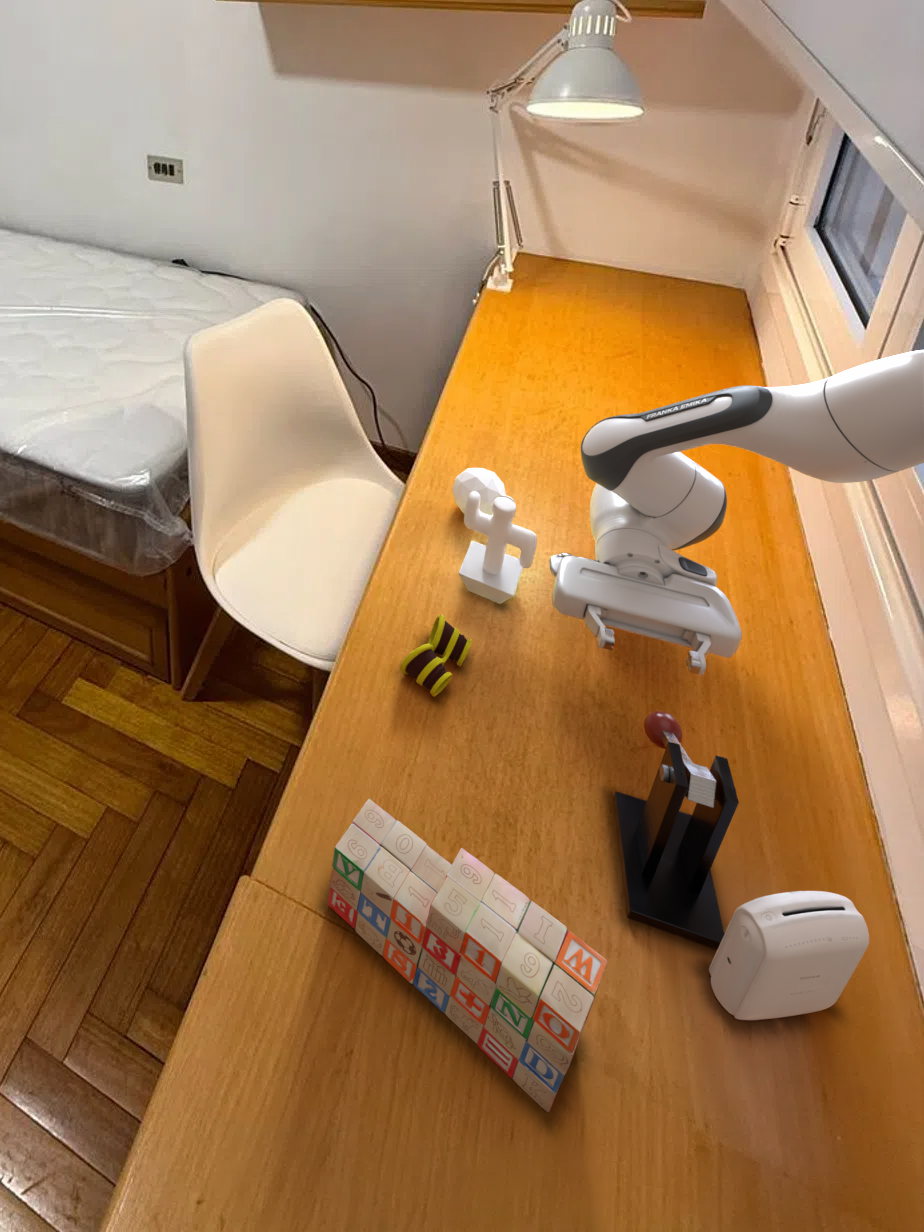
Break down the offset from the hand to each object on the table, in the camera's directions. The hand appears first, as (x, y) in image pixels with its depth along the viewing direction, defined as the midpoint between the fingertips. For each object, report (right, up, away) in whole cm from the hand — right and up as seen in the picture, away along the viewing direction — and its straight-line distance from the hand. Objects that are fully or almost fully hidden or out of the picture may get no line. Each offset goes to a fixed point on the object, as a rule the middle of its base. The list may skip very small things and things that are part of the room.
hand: (651, 657), depth 97 cm
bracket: (-6, -14, -13) cm, 21 cm away
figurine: (-11, 0, +20) cm, 23 cm away
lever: (-5, -5, -13) cm, 14 cm away
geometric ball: (-8, +5, +33) cm, 35 cm away
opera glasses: (-23, -5, +8) cm, 24 cm away
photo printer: (-2, -19, -22) cm, 29 cm away
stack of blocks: (-31, -18, -21) cm, 41 cm away
